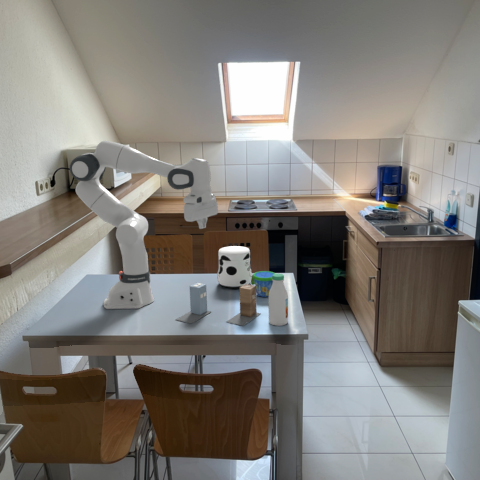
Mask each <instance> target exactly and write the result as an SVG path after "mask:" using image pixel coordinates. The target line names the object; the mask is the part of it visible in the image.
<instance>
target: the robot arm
mask: <svg viewBox="0 0 480 480" xmlns="http://www.w3.org/2000/svg"><path fill="white" fill-rule="evenodd" d="M107 168H110V169H113V170H116V171H119V172H122V173H128V174H133V175H134V174H142V173H149V174H154V175H157V176H161V177H164V178H167V179H166V180H167V183H168V185H169V186H170V187H171V188H172V189H175V190H177V191H180V190H184V189H188V188H189V189H190V192H189V193H188V194H187V195H186V196H184V197H183V199H182V200H183V203H184V204H183V217H184V220H185V221H186V222H191V223H193V222H195V221H196V222H197V224H198V229H199V230H202V229H206V228H207V223H208V218H209V217H213V216H217V215H218V213H219V209H218V208H219V207H218V202H217V199H216V196H215V194H213V193H212V187H211V180H212V176H211V175H212V174H211V167H210V164H209V162H208V160H206V159H205V158H204V159H203V158H196V157H194V158H191V159H189V160H188V161H187V162H184V163H182V164H172V163H170V162H165V161H162V160H160V159H157V158H154V157H151V156H149V155H147V154H145V153H143V152H141V151H140V150H138V149H135V148H133V147H131V146H129V145H126V144H122V143H119V142H115V141H110V140H103V141H100V142H98V144H97V146H96V147H95V151H94V152H93V151H92V152H85V153H82V154H80V155H78V156H75V157H74V158H73V159H72V160H71V162H70V165H69V171H70V175H71V176H72V177H73V178H74V179H75V180H77V181H79V182H78V183H77V184H76V186H75V193H76V195H77V196H78V198H79V199H80V200H81V201H82V202H83V204H85V206H86V207H87V208H88V209H90V210H91V212H93V213H95V214H94V215H96V216H98V218H100V219H101V220H102V221H103V222H106V223H108V224H110V225H112V226H114V227H115V228H116V230H115V237H116V240H117V242H118V246H119V249H120V254H121V257H122V259H121V260H122V267H123V268H122V270H123V271H122V270H120V271H119V272H118V277H119V280H118V282H116V283H115V284H114V285H113V286H111V287H110V289H109V291H108V293H107V297H106V298H105V299H104V301H103V308H104V309H107V310H112V309H113V310H117V309H118V310H119V309H120V310H121V309H123V310H124V309H141V308H142V307H144V306H147V305H149V304H150V305H151V304H152V303H153V302H154V301H155V298H154V296H153V292H152V287H151V271H150V270H149V259H148V258H149V257H148V252H147V250H146V249H147V248H146V247H145V246H146V245H145V241H144V237H145V236H146V235H147V234H148V230H149V222H148V219H147V218H146V217H145V216H143V215H141V214H139V213H138V212H136V211H135V210H133V208H130V207H129V206H127V205H126V204H124V203H123V202H122V201H121V200H119V199H118V198H117V197H116V196H115V195H114V194H113V193H111V192H110V191H109V190H108V189H106V187H104V185H103V184H101V182H100V181H101V180H102V179H103V176H104V173H105V172H106V170H107Z"/></svg>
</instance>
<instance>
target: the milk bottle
mask: <svg viewBox="0 0 480 480" xmlns="http://www.w3.org/2000/svg"><path fill="white" fill-rule="evenodd" d="M272 280H273V284H272V287H271V289H270V292H269V297H268V322H269V324H270V325H272V326H274V327H275V326H276V327H277V326H278V327H279V326H282V327H283V326H285V325H286V324H288V322H289V296H288V290H287V288H286V286H285V283H284V281H285V275H284V274H282V273H275V274H273V275H272Z"/></svg>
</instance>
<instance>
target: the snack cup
mask: <svg viewBox="0 0 480 480" xmlns="http://www.w3.org/2000/svg"><path fill="white" fill-rule="evenodd" d="M273 274H276V273H275V272H273V271H270V270H261V271H256V272H254V273H252V278H251V283H250V285H254V286H256V296H258V297H262V298H269V292H270V289H271V287H272V284H273V280H272V275H273Z"/></svg>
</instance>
